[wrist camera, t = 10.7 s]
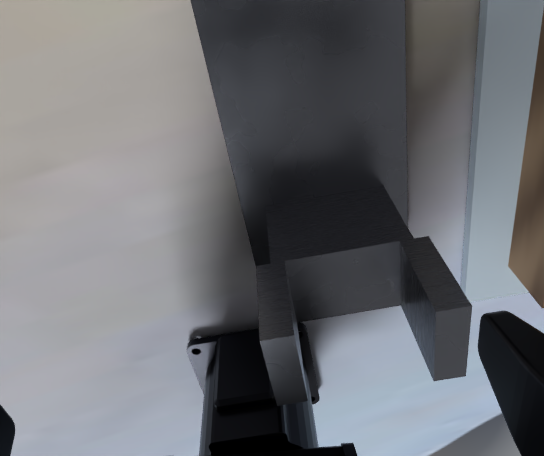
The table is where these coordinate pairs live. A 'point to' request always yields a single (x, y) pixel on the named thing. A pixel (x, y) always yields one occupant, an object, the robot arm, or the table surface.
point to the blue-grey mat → (498, 143)
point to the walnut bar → (531, 194)
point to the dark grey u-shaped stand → (326, 173)
